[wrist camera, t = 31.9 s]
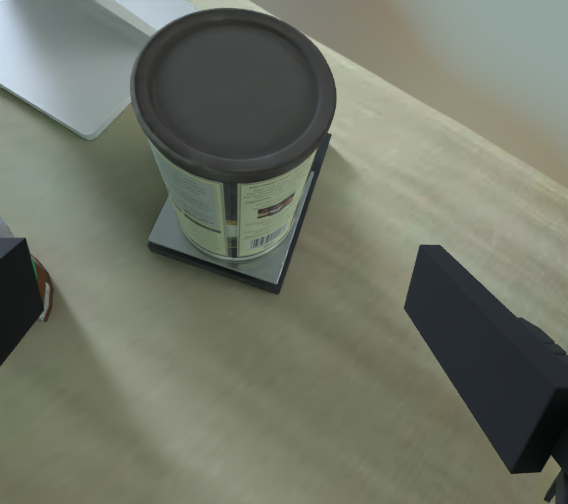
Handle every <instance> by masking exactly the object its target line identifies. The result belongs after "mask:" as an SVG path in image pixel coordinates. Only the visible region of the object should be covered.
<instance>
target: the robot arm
mask: <svg viewBox="0 0 568 504" xmlns="http://www.w3.org/2000/svg"><path fill="white" fill-rule="evenodd" d="M404 309H405V311H406V312H407V314H408V315H409V317H410V319H411V320H412V322H413V323H414V325H415V326H416V328H417V329H418V331H419V332H420V334H421V336H422V337H423V339H424V340H425V342H426V343H427V345H428V346H429V348H430V349H431V351H432V353H433V354H434V356H435V357H436V359H437V360H438V362H439V363H440V365H441V367H442V368H443V370H444V371H445V373H446V374H447V376H448V377H449V379H450V380H451V382H452V384H453V385H454V387H455V388H456V390H457V391H458V393H459V394H460V396H461V397H462V399H463V401H464V402H465V404H466V405H467V407H468V408H469V410H470V411H471V413H472V414H473V416H474V418H475V419H476V421H477V422H478V424H479V425H480V427H481V428H482V430H483V431H484V433H485V435H486V436H487V438H488V439H489V441H490V442H491V444H492V445H493V447H494V449H495V450H496V452H497V453H498V455H499V456H500V458H501V459H502V461H503V462H504V464H505V466H506V467H507V469H508V470H509V472H510V473H511V474H518V473H535V472H541V471H542V469H543V467H544V466H545V464H546V462H547V461H548V459H549V457H550V456H551V455H552V457H553V458H554V459H555V460H556V462H557V463H558V464H559V466H560V467H561V468H562V469H561V471H560V472H559V474H558V475H557V477H556V479H555V480H554V482H553V483H552V485H551V487H550V488H549V490H548V491H547V493H546V495H545V498H544V500H545V501H547V502H550V501H551V499H552V498H553V496H555V495H556V503H555V504H568V355H567V354H566V352H565V351H564V350H563V349H562V348H561V347H560V346H559V345H558V344H555V343H554V341H553V340H552V339H551V338H550V337H549V336H548V335H547V334H546V333H544V332H543V331H542V330H541V329H540V328H538V327H537V326H535V325H533V324H531V323H530V322H528V321H526V320H525V319H523V318H517V317H516V316H515V315H514V314H513V313H512V312H510V311H509V310H508V309H507V308H506V307H505V306H504V305H503V304H502V303H501V302H500V301H499V300H498V299H497V298H496V297H495V296H494V295H493V294H491V293H490V292H489V291H488V290H487V289H486V288H485V287H484V286H483V285H482V284H481V283H480V282H479V281H478V280H477V279H476V278H475V277H473V276H472V275H471V274H470V273H469V272H468V271H467V270H466V269H465V268H464V267H463V266H462V265H461V264H460V263H459V262H458V261H457V260H455V259H454V258H453V257H452V256H451V255H450V254H449V253H448V252H447V251H446V250H445V249H444V248H443V247H442V246H441V245H420V246H419V250H418V254H417V258H416V262H415V266H414V270H413V274H412V278H411V282H410V286H409V290H408V294H407V298H406V302H405V306H404ZM44 310H45V309H44V305H43V301H42V298H41V294H40V290H39V286H38V283H37V279H36V275H35V271H34V268H33V264H32V260H31V256H30V253H29V249H28V245H27V241H26V238H0V366H1V365H2V364H3V362H4V361H5V360H6V358H7V357H8V356H9V355H10V353H11V352H12V351H13V350H14V348H15V347H16V346H17V344H18V343H19V342H20V341H21V339H22V338H23V337H24V335H25V334H26V333H27V332H28V330H29V329H30V328H31V327H32V325H33V324H34V323H35V321H36V320H37V319H38V318H39V316H40V315H41V314H42V312H43V311H44Z"/></svg>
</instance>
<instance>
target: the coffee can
mask: <svg viewBox="0 0 568 504" xmlns="http://www.w3.org/2000/svg"><path fill="white" fill-rule="evenodd" d="M130 96H131V101H132V106H133V109H134V112H135V114H136V117H137V119H138V121H139V123H140V125H141V127H142V129H143V131H144V133H145V134H146V136H147V138H148V141H149V143H150V146H151V149H152V152H153V154H154V157H155V159H156V162H157V165H158V167H159V170H160V173H161V175H162V178H163V181H164V183H165V186H166V189H167V191H168V194H169V196H170V199H171V202H172V204H173V207H174V210H175V214H176V218H177V221H178V223H179V226H180V228H181V230H182V231H183V233H184V235H185V236H186V237H187V238H188V240H189V241H190V242H191V243H192V244H193V245H195V246H196V247H197V248H199V249H200V250H201V251H202V252H204V253H207V254H209V255H211V256H213V257H216V258H220V259H224V260H231V261H241V260H250V259H253V258H256V257H259V256H262V255H264V254H266V253H268V252H269V251H271V250H272V249H274V248H275V247H277V246H278V245H279V244H280V243H281V242H282V241H283V240H284V238H285V237H286V236H287V235H288V233H289V231H290V229H291V227H292V225H293V222H294V218H295V214H296V211H297V209H298V205H299V203H300V200H301V197H302V194H303V192H304V189H305V186H306V183H307V180H308V178H309V176H310V173H311V170H312V167H313V164H314V161H315V159H316V156H317V153H318V151H319V148H320V145H321V143H322V141H323V139H324V138H325V136H326V134H327V132H328V130H329V128H330V125H331V123H332V120H333V117H334V113H335V109H336V87H335V82H334V78H333V75H332V72H331V70H330V68H329V65H328V64H327V62H326V60H325V58H324V56H323V55H322V53H321V52H320V51H319V49H318V48H317V47H316V46H315V45H314V44H313V42H312V41H311V40H309V39H308V38H307V37H306V36H305V35H304V34H302V33H301V32H300V31H299V30H297V29H296V28H294V27H292V26H291V25H289V24H287V23H286V22H284V21H281V20H279V19H277V18H275V17H273V16H270V15H267V14H264V13H260V12H257V11H253V10H247V9H238V8H215V9H207V10H202V11H197V12H193V13H190V14H186V15H184V16H182V17H179V18H177V19H175V20H173V21H171V22H169V23H168V24H166V25H165V26H164V27H162V28H161V29H159V30H158V31H157V32H156V33H154V34H153V35H152V36H151V37H150V38H149V40H148V41H147V42H146V43H145V44H144V46H143V47H142V48H141V50H140V52H139V54H138V56H137V57H136V59H135V62H134V65H133V68H132V72H131V78H130Z"/></svg>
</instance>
